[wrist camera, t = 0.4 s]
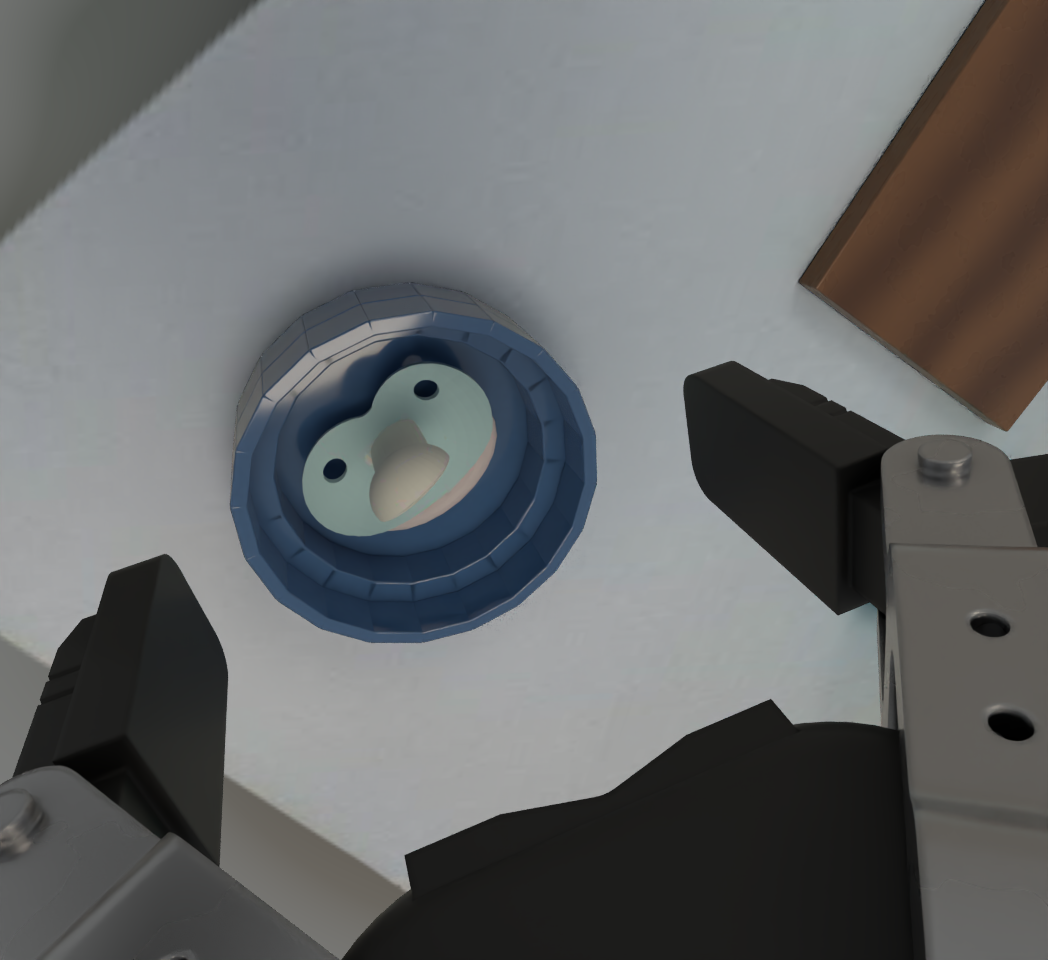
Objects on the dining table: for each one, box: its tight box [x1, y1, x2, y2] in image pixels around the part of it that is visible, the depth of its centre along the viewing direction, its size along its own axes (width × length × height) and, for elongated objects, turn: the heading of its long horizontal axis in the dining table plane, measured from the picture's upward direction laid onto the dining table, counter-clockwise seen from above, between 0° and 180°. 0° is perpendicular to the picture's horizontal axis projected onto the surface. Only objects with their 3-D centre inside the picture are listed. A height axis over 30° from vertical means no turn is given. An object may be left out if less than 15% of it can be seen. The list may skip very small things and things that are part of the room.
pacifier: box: [302, 361, 497, 536], centre depth 26 cm, size 7×6×6 cm
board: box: [799, 0, 1048, 431], centre depth 33 cm, size 15×14×1 cm
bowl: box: [230, 282, 597, 643], centre depth 27 cm, size 12×12×4 cm
